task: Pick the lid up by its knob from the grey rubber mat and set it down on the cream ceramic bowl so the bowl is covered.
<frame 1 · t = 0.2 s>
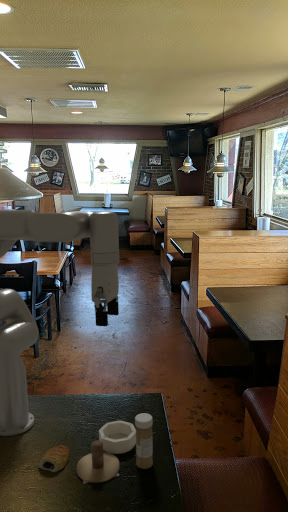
hand: (107, 320, 113), 37 cm above the table, tool pointing down, fingers open, 9 cm apart
lid: (98, 467, 107), resting on mat
mat: (98, 469, 107), on the table
pastry: (55, 464, 110), on the table
bowl: (118, 443, 118), on the table
sprinkles bottle: (144, 465, 109), on the table
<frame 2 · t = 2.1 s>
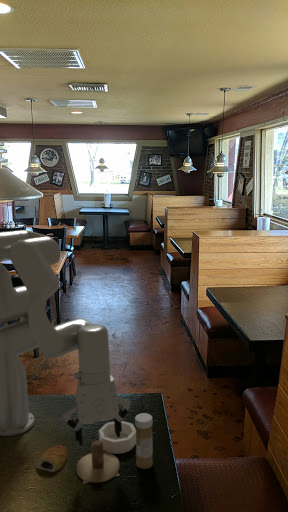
hand: (99, 438, 105), 9 cm above the table, tool pointing down, fingers open, 9 cm apart
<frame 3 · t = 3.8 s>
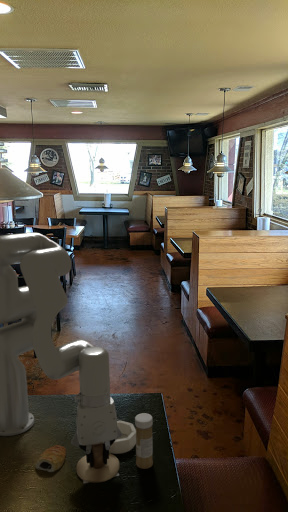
hand: (97, 462, 107), 2 cm above the table, tool pointing down, fingers closed on lid, 3 cm apart
lid: (98, 467, 107), resting on mat, touching gripper
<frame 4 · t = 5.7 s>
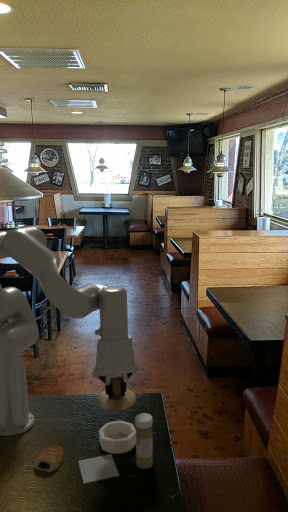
hand: (116, 394, 115), 15 cm above the table, tool pointing down, fingers closed on lid, 3 cm apart
lid: (116, 400, 116), point 13 cm above the table, touching gripper
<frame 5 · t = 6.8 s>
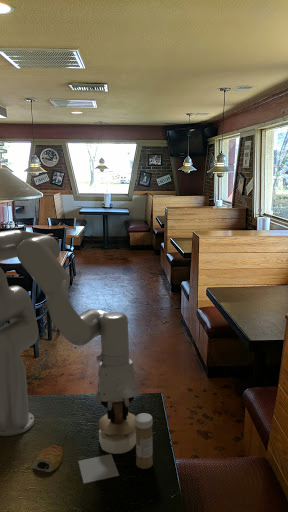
hand: (117, 418, 117), 8 cm above the table, tool pointing down, fingers closed on lid, 3 cm apart
lid: (118, 424, 117), point 6 cm above the table, touching gripper
when the fingers open (7 cm above the table, at t = 7.6 s): lid drops 1 cm, resting on bowl.
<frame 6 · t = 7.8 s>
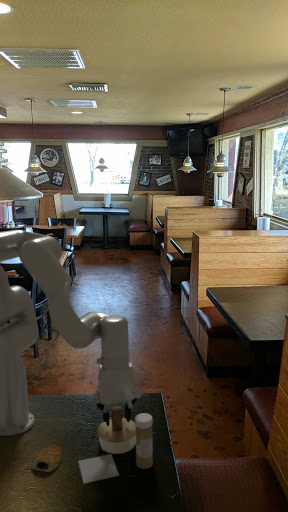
hand: (117, 420, 117), 7 cm above the table, tool pointing down, fingers open, 5 cm apart
lid: (117, 430, 117), point 4 cm above the table, touching bowl
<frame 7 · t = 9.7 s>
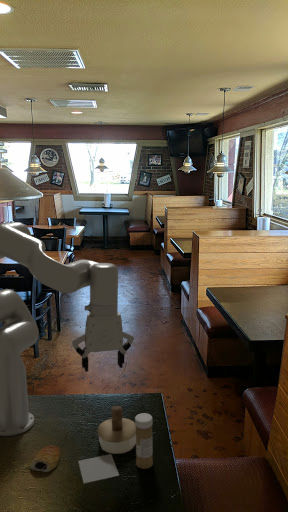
hand: (103, 367, 115), 23 cm above the table, tool pointing down, fingers open, 9 cm apart
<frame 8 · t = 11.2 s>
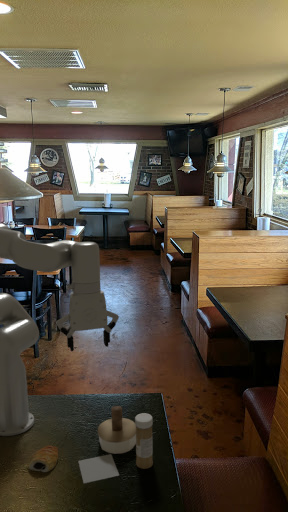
hand: (89, 347, 115), 28 cm above the table, tool pointing down, fingers open, 9 cm apart
at the end: lid 0.1 cm off-centre on the bowl, point 4.0 cm above the bowl's base; lid tilted 0°; the gripper is holding nothing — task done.
